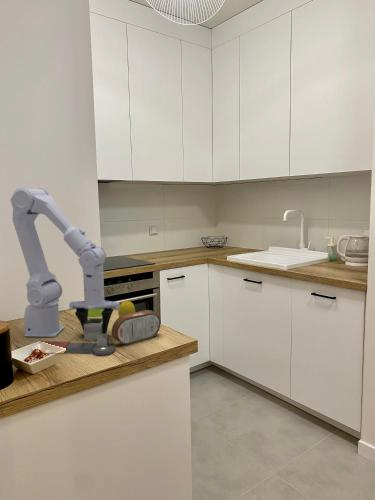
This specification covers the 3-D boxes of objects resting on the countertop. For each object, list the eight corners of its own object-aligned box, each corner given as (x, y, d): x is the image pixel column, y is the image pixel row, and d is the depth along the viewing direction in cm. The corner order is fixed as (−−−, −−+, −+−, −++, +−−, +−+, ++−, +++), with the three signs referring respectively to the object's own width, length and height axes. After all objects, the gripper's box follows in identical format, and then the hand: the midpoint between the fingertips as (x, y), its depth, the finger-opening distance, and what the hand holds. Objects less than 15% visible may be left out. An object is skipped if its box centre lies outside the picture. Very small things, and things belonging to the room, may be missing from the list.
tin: (156, 333, 113) (156, 306, 112) (162, 336, 111) (162, 309, 109) (111, 345, 104) (110, 316, 103) (116, 348, 102) (115, 319, 100)
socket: (84, 340, 107) (83, 323, 107) (89, 333, 113) (89, 317, 112) (102, 340, 107) (101, 324, 106) (106, 333, 112) (106, 318, 112)
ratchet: (33, 355, 98) (32, 340, 97) (43, 346, 103) (42, 331, 103) (111, 356, 97) (111, 341, 96) (117, 347, 103) (116, 332, 102)
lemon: (132, 326, 118) (131, 303, 117) (115, 325, 119) (115, 301, 118) (137, 321, 124) (137, 298, 122) (122, 320, 125) (121, 297, 123)
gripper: (64, 291, 104) (66, 337, 106) (115, 292, 103) (116, 338, 105) (73, 285, 111) (75, 328, 113) (120, 285, 110) (121, 329, 112)
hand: (95, 332), depth 110 cm, fingers closed on socket, 5 cm apart
